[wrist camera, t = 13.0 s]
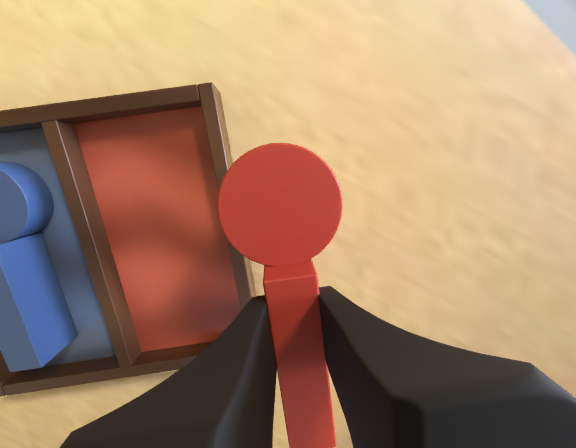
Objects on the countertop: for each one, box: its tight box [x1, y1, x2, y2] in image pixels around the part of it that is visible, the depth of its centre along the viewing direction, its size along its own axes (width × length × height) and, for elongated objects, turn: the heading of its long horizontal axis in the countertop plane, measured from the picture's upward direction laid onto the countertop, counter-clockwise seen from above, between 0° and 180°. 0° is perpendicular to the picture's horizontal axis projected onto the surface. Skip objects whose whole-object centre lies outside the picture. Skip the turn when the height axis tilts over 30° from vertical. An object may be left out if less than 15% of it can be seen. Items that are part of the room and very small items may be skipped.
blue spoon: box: [0, 162, 78, 372], centre depth 16 cm, size 12×4×3 cm, turn 8°
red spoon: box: [217, 143, 342, 448], centre depth 11 cm, size 12×4×3 cm, turn 7°
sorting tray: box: [0, 83, 256, 396], centre depth 17 cm, size 17×17×2 cm
